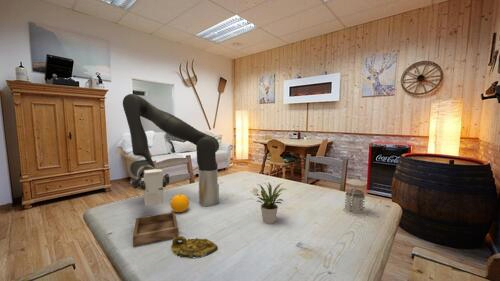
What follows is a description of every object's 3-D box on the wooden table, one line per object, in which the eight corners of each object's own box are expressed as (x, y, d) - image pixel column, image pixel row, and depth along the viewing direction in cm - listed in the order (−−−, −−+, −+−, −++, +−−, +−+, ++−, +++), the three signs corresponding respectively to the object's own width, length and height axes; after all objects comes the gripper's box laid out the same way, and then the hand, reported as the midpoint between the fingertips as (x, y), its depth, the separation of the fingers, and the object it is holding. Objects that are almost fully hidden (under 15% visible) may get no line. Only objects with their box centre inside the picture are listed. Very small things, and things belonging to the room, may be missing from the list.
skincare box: (145, 206, 74) (144, 173, 73) (143, 202, 78) (142, 170, 77) (163, 203, 77) (163, 170, 76) (161, 199, 81) (160, 168, 80)
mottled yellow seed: (218, 244, 73) (174, 244, 72) (219, 230, 73) (175, 230, 72) (216, 258, 63) (165, 259, 62) (216, 243, 64) (165, 243, 63)
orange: (167, 212, 94) (166, 196, 93) (179, 206, 101) (178, 190, 101) (181, 215, 91) (181, 198, 90) (192, 208, 98) (192, 193, 98)
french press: (368, 211, 97) (372, 158, 94) (361, 220, 88) (365, 161, 86) (346, 205, 103) (349, 155, 101) (337, 213, 95) (340, 158, 92)
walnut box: (174, 220, 87) (174, 211, 86) (178, 237, 74) (178, 227, 74) (136, 227, 81) (136, 218, 81) (133, 246, 68) (132, 236, 68)
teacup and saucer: (266, 194, 119) (266, 187, 118) (259, 199, 112) (259, 191, 112) (253, 191, 123) (253, 185, 123) (245, 195, 117) (245, 188, 116)
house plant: (291, 216, 92) (292, 179, 90) (286, 231, 79) (287, 189, 77) (260, 211, 96) (260, 176, 95) (250, 225, 83) (251, 185, 82)
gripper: (127, 168, 85) (131, 178, 71) (165, 164, 92) (175, 173, 79) (128, 186, 85) (132, 200, 71) (165, 181, 93) (175, 192, 79)
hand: (154, 185), depth 75 cm, fingers closed on skincare box, 6 cm apart
